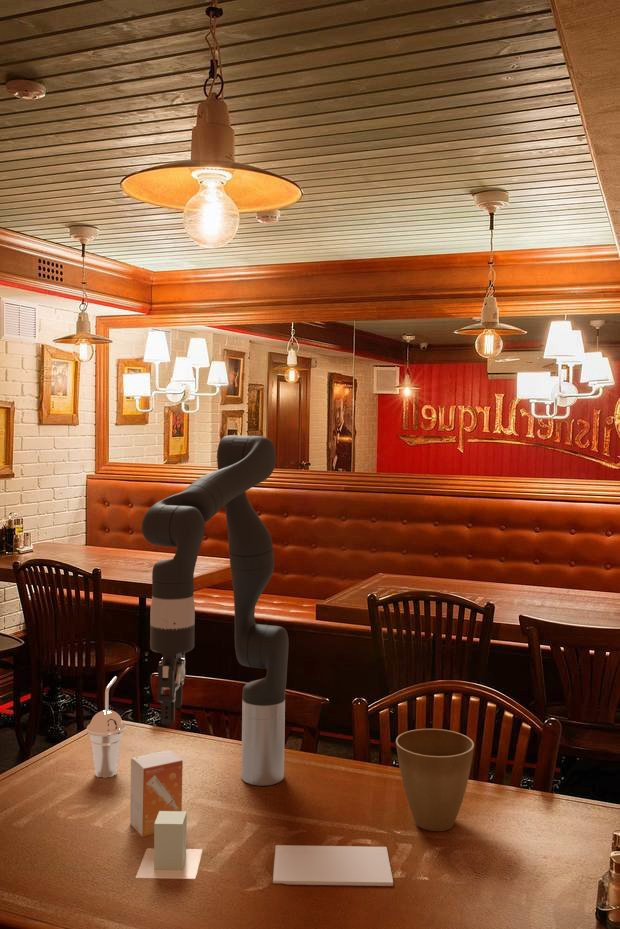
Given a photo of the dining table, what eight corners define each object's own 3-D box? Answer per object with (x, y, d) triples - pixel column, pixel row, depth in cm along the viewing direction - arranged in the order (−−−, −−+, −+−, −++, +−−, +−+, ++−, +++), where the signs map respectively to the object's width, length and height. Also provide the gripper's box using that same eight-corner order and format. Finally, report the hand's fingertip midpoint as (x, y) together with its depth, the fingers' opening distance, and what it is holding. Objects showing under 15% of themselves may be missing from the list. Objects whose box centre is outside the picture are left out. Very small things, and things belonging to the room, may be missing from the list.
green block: (158, 855, 149) (159, 811, 148) (186, 856, 149) (186, 811, 148) (153, 869, 144) (154, 823, 144) (182, 870, 144) (182, 824, 144)
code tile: (146, 849, 151) (146, 848, 151) (202, 850, 151) (202, 849, 151) (135, 878, 141) (135, 877, 141) (195, 879, 141) (195, 878, 141)
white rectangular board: (275, 848, 152) (275, 845, 152) (386, 850, 152) (386, 846, 152) (272, 884, 140) (272, 880, 140) (393, 885, 140) (393, 882, 140)
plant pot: (453, 802, 172) (455, 725, 172) (485, 837, 158) (487, 752, 157) (383, 809, 169) (385, 730, 168) (410, 845, 154) (412, 759, 154)
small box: (142, 838, 155) (142, 768, 155) (129, 824, 161) (129, 757, 160) (182, 827, 160) (183, 759, 159) (168, 814, 165) (169, 748, 165)
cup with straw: (77, 775, 183) (77, 683, 182) (109, 762, 190) (109, 674, 190) (104, 785, 178) (104, 691, 177) (135, 771, 185) (136, 681, 185)
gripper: (188, 632, 137) (187, 730, 138) (199, 613, 152) (198, 702, 152) (142, 631, 137) (141, 729, 138) (158, 612, 152) (157, 701, 152)
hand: (171, 715), depth 145 cm, fingers open, 8 cm apart
